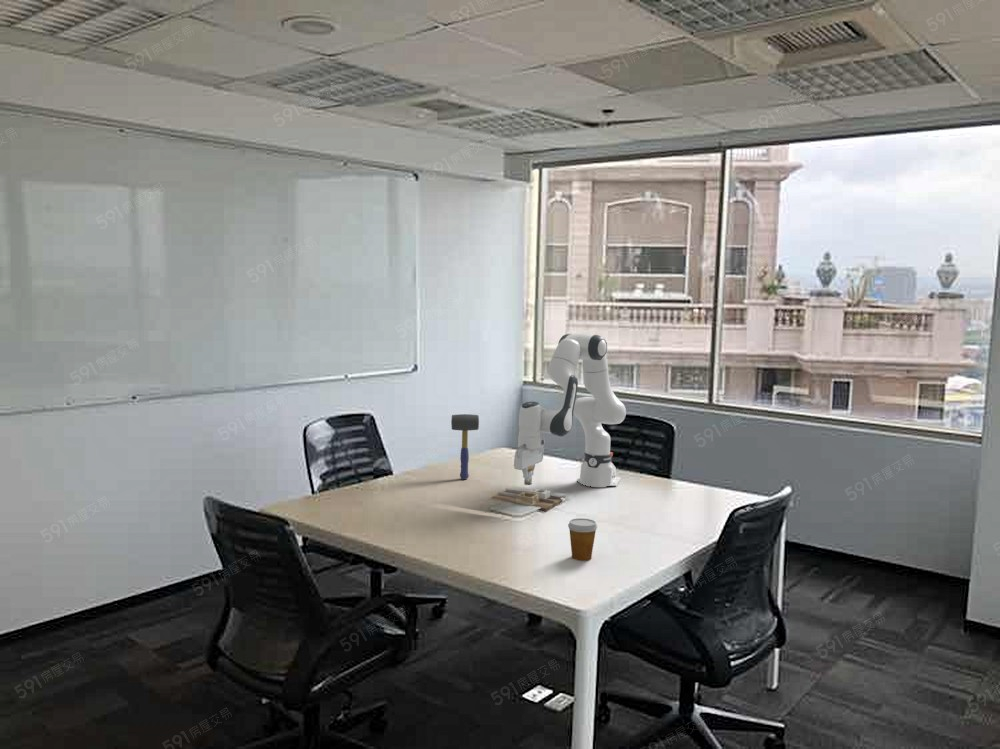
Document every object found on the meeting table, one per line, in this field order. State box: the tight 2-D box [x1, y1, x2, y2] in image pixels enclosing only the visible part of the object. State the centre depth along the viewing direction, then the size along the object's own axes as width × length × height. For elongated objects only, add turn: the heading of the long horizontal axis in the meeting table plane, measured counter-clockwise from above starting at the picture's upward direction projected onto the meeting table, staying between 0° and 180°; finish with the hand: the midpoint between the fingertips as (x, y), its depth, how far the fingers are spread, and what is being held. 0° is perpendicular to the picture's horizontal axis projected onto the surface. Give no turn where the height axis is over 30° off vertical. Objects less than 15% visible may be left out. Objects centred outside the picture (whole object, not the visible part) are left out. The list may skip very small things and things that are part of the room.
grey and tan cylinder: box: [523, 465, 533, 486], centre depth 321 cm, size 4×4×8 cm
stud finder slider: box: [526, 488, 551, 499], centre depth 329 cm, size 5×8×3 cm, turn 62°
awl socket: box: [515, 492, 540, 506], centre depth 322 cm, size 7×7×3 cm
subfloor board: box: [488, 488, 563, 513], centre depth 328 cm, size 16×26×2 cm, turn 62°
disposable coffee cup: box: [567, 517, 598, 562], centre depth 261 cm, size 10×10×12 cm
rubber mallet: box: [451, 413, 480, 480], centre depth 363 cm, size 12×8×30 cm, turn 95°
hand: (528, 476), depth 321 cm, fingers closed on grey and tan cylinder, 3 cm apart
